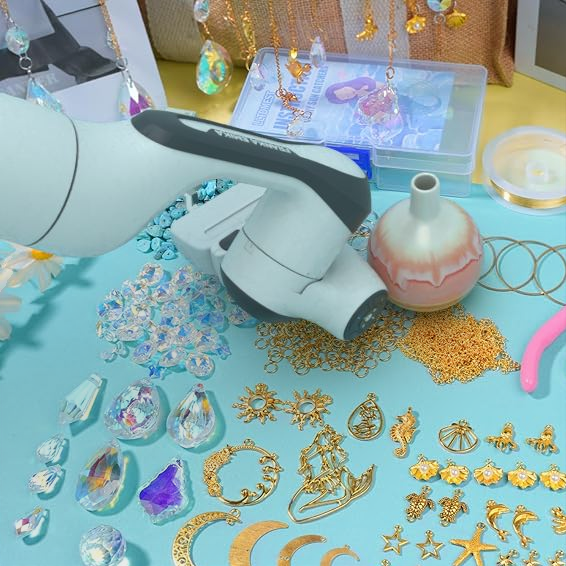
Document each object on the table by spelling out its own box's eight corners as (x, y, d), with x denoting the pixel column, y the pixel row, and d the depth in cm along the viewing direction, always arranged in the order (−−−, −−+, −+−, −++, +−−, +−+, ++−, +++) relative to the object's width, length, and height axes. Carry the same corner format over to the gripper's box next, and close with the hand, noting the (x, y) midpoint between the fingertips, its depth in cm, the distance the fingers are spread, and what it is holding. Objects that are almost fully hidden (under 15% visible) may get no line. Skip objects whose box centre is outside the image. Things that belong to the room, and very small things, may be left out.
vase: (363, 329, 98) (353, 228, 84) (374, 241, 106) (366, 135, 91) (480, 334, 96) (490, 232, 82) (482, 245, 104) (492, 137, 89)
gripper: (350, 171, 97) (281, 114, 103) (204, 263, 91) (141, 195, 97) (353, 209, 102) (287, 152, 109) (216, 297, 96) (155, 231, 102)
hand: (217, 173), depth 103 cm, fingers open, 8 cm apart
